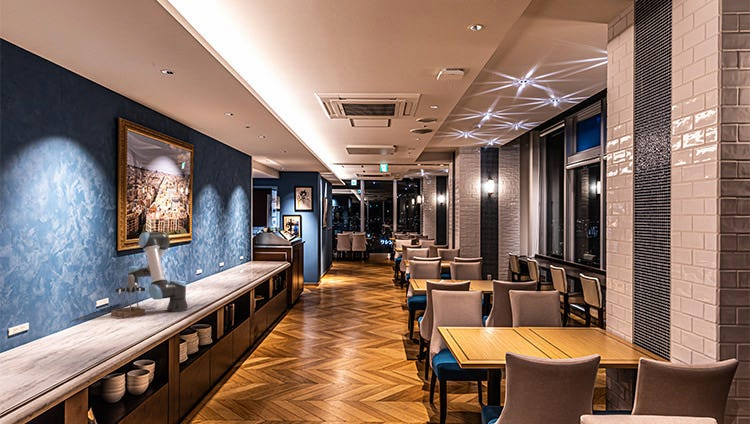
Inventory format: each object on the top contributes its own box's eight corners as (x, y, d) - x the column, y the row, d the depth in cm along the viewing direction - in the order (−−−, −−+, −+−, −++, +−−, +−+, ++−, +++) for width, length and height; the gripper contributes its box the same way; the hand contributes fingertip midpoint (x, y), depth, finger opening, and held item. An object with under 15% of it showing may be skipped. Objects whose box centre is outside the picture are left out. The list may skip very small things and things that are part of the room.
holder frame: (145, 314, 353) (145, 309, 353) (122, 318, 338) (123, 313, 338) (133, 311, 361) (133, 306, 361) (110, 315, 347) (110, 310, 347)
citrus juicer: (130, 316, 344) (131, 275, 344) (117, 316, 344) (117, 275, 344) (138, 313, 355) (139, 273, 355) (125, 313, 356) (126, 273, 356)
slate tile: (154, 308, 374) (154, 307, 374) (137, 311, 362) (137, 310, 362) (144, 306, 382) (144, 305, 382) (127, 309, 370) (127, 308, 370)
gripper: (149, 291, 382) (147, 295, 362) (114, 292, 372) (110, 297, 353) (149, 282, 382) (147, 285, 362) (114, 283, 372) (110, 287, 353)
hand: (129, 291), depth 358 cm, fingers open, 13 cm apart
